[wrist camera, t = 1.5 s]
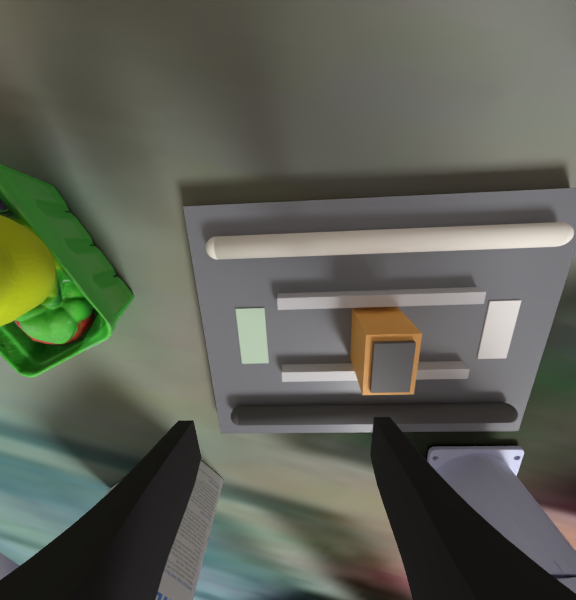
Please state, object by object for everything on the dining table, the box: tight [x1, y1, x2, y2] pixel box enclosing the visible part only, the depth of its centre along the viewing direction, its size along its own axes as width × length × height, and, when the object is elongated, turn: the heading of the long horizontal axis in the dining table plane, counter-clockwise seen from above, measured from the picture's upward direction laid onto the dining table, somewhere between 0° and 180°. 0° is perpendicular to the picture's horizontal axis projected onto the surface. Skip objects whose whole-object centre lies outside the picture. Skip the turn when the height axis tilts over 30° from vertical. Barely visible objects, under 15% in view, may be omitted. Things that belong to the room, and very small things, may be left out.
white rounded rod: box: [206, 222, 574, 260], centre depth 16 cm, size 1×21×1 cm, turn 92°
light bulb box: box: [105, 461, 223, 600], centre depth 22 cm, size 11×7×11 cm, turn 130°
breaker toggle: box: [350, 307, 422, 395], centre depth 17 cm, size 4×3×4 cm
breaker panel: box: [183, 188, 576, 433], centre depth 20 cm, size 18×24×2 cm
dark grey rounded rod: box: [231, 403, 518, 426], centre depth 21 cm, size 1×21×1 cm, turn 92°
